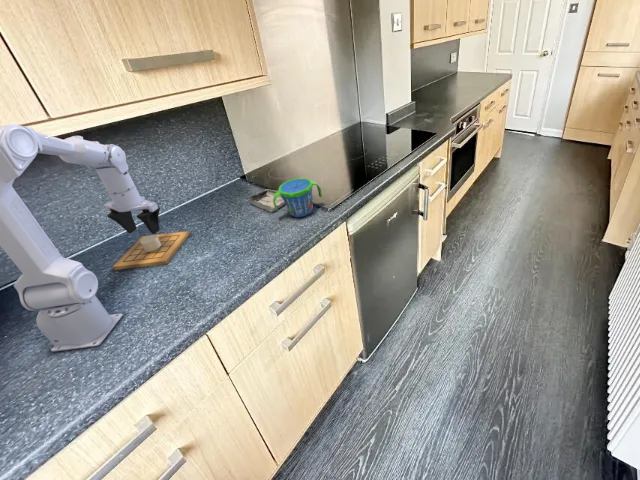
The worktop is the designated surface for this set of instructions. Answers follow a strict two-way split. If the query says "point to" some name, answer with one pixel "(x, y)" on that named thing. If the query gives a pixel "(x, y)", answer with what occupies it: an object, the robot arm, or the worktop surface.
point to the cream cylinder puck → (150, 243)
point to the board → (152, 252)
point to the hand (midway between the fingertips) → (144, 231)
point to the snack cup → (297, 196)
